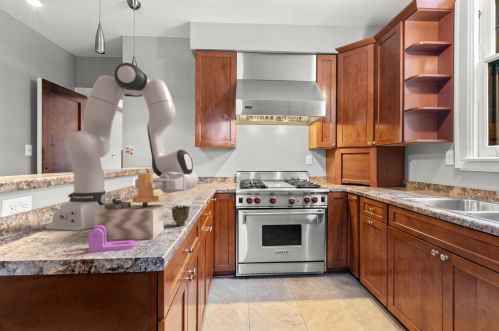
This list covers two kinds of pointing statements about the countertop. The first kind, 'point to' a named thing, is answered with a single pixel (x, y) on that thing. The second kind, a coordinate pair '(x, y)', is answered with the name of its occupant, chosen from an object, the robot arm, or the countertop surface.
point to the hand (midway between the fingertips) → (143, 185)
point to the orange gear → (145, 189)
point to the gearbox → (130, 220)
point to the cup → (180, 214)
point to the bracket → (100, 245)
